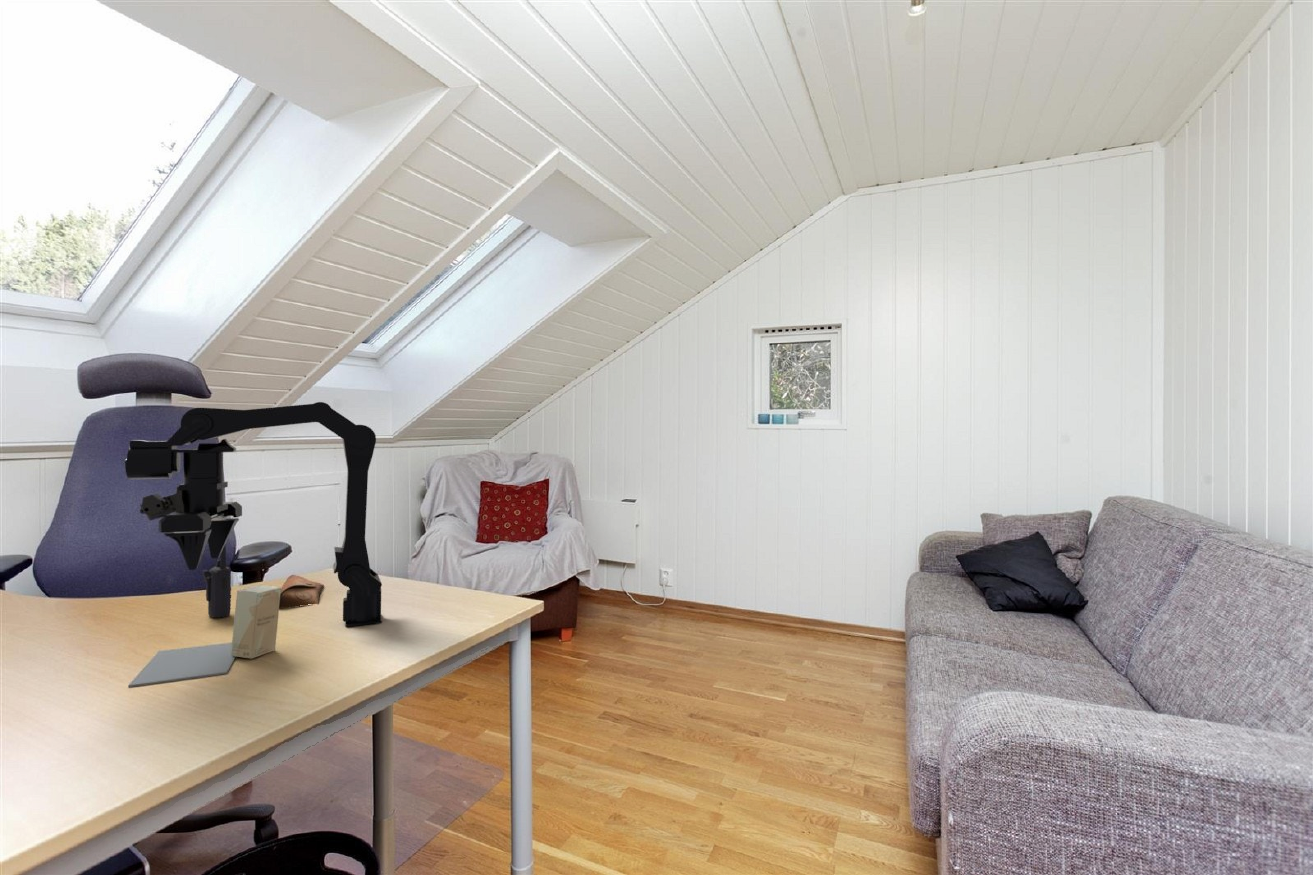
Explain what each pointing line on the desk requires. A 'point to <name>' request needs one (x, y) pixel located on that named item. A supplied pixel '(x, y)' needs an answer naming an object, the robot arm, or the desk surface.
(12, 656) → the desk surface
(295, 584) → the sunglasses case
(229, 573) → the two-way radio
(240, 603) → the box
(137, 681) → the felt pad
